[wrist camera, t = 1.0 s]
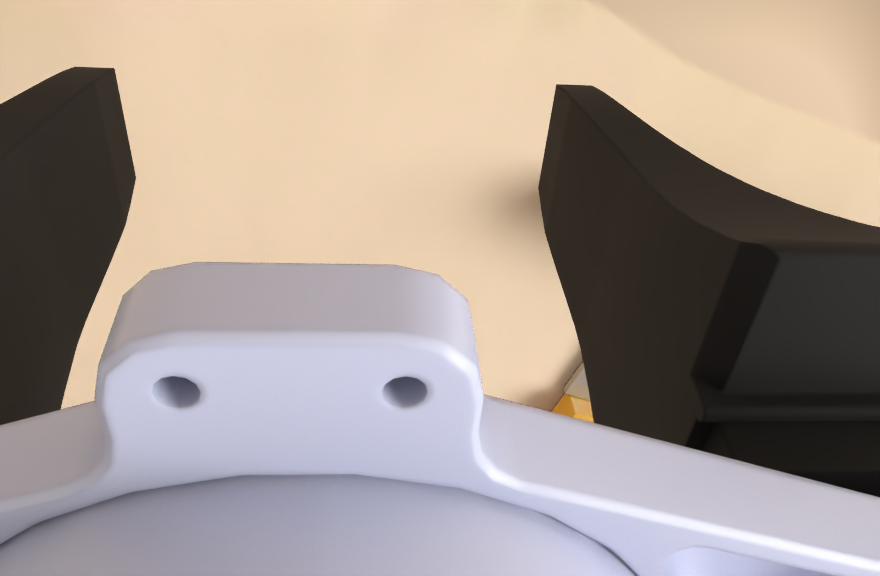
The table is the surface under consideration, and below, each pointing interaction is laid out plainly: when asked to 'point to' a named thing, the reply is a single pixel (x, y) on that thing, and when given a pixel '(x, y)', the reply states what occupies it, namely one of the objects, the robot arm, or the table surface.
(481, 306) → the table surface
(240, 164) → the table surface
